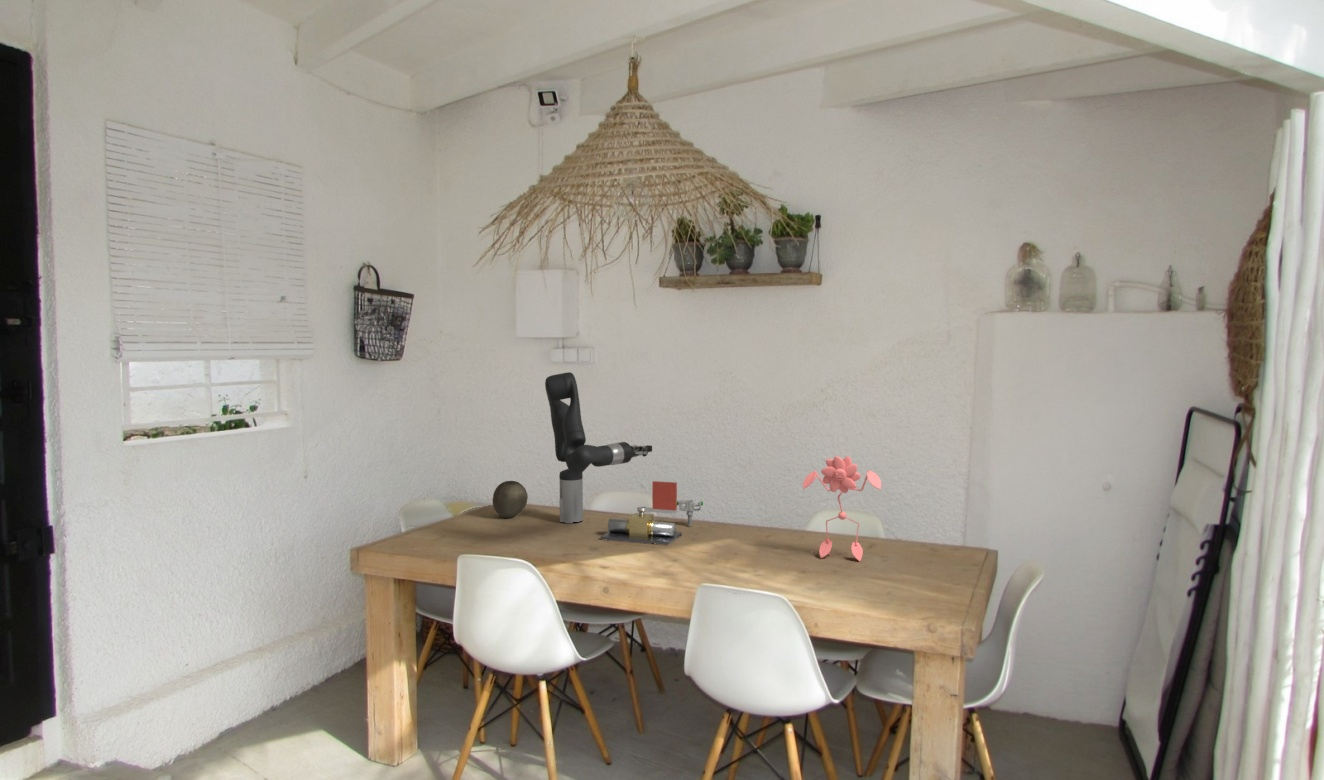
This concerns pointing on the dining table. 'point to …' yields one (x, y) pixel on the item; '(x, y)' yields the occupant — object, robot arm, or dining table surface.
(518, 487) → the kiwi fruit
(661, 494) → the valve lever
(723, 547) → the dining table surface
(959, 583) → the dining table surface
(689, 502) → the mechanical component
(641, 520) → the valve stand
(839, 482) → the flower figure
